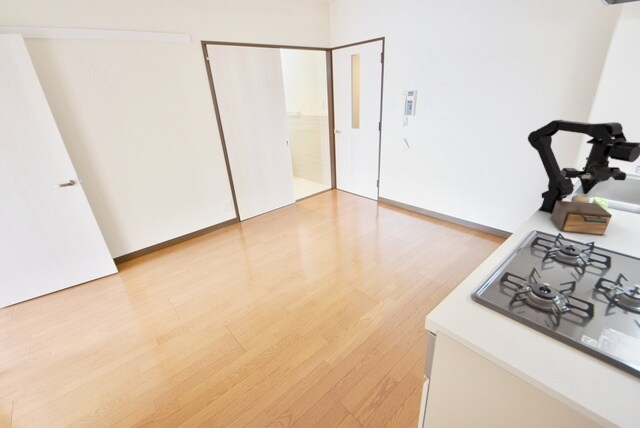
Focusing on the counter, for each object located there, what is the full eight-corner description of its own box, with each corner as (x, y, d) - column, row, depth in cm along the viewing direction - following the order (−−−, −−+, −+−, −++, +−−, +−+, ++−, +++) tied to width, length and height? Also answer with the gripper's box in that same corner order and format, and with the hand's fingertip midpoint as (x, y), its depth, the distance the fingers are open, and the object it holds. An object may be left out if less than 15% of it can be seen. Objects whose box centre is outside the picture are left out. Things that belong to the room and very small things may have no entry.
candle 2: (605, 218, 120) (613, 200, 116) (597, 220, 119) (604, 202, 115) (593, 213, 124) (599, 196, 121) (584, 215, 123) (591, 198, 120)
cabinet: (603, 235, 108) (612, 215, 104) (560, 230, 112) (567, 211, 109) (589, 222, 117) (596, 203, 114) (550, 218, 122) (556, 200, 118)
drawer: (610, 240, 102) (619, 220, 99) (569, 236, 107) (576, 217, 103) (591, 222, 115) (598, 204, 112) (554, 219, 120) (560, 201, 116)
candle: (568, 218, 122) (576, 196, 117) (564, 212, 126) (571, 192, 122) (584, 219, 120) (593, 198, 115) (579, 214, 124) (587, 193, 120)
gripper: (577, 160, 105) (564, 199, 111) (643, 162, 98) (625, 203, 105) (565, 154, 114) (554, 189, 121) (625, 155, 108) (609, 193, 114)
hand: (584, 193), depth 115 cm, fingers closed
